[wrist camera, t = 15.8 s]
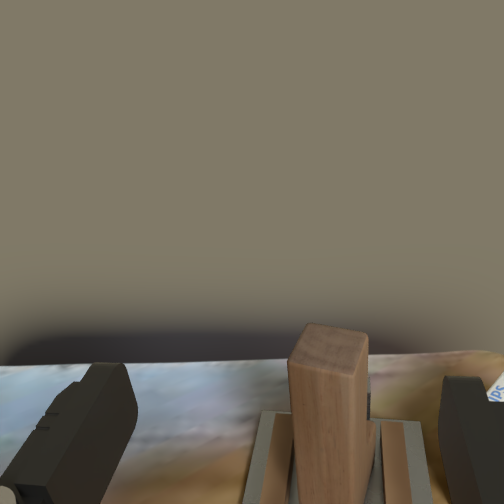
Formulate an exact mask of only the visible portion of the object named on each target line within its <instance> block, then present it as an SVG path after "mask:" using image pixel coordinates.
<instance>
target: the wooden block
mask: <svg viewBox="0 0 504 504" xmlns="http://www.w3.org/2000/svg"><path fill="white" fill-rule="evenodd" d="M287 368H288V380H289V392H290V404H291V415H292V427H293V439H294V451H295V464H296V476H297V489H298V500H299V504H364V499H365V495H366V491H367V487H368V483H369V479H370V475H371V470H372V466H373V462H374V458H375V447H376V424H375V423H374V422H373V421H369V420H367V380H368V336H367V334H366V333H364V332H360V331H354V330H348V329H343V328H337V327H332V326H326V325H321V324H315V323H308V324H306V326H305V328H304V330H303V331H302V334H301V335H300V337H299V339H298V341H297V343H296V345H295V347H294V349H293V351H292V352H291V354H290V356H289V358H288V360H287Z"/></svg>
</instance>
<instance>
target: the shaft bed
mask: <svg viewBox="0 0 504 504" xmlns="http://www.w3.org/2000/svg"><path fill="white" fill-rule="evenodd" d="M370 394H371V392H370V377H368V380H367V420H369V421H373V422H374V423H375V424H376V447H375V458H374V462H373V466H372V470H371V475H370V479H369V483H368V487H367V491H366V495H365V499H364V504H384V497H383V481H382V464H381V448H380V426H381V421H391V422H403V427H404V436H405V444H406V453H407V462H408V470H409V479H410V487H411V496H412V504H433V499H432V493H431V487H430V480H429V474H428V467H427V461H426V455H425V448H424V442H423V435H422V429H421V423H420V421H406V420H392V419H378V418H370ZM275 413H281V414H291V412H281V411H267V410H262V413H261V417H260V422H259V427H258V432H257V436H256V441H255V446H254V451H253V455H252V460H251V465H250V470H249V474H248V479H247V484H246V488H245V493H244V498H243V503H242V504H259V503H260V498H261V492H262V487H263V481H264V475H265V470H266V464H267V458H268V453H269V447H270V442H271V436H272V430H273V425H274V419H275ZM289 504H299V500H298V489H297V476H296V464H295V455H294V463H293V471H292V479H291V487H290V496H289Z"/></svg>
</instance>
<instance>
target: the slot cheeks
mask: <svg viewBox="0 0 504 504" xmlns="http://www.w3.org/2000/svg"><path fill="white" fill-rule="evenodd" d="M380 448H381V464H382V481H383V497H384V504H412V496H411V487H410V479H409V470H408V462H407V453H406V444H405V436H404V427H403V422H391V421H381V426H380ZM294 455H295V451H294V439H293V427H292V415H291V414H281V413H275V419H274V425H273V430H272V436H271V442H270V447H269V453H268V458H267V464H266V470H265V475H264V481H263V487H262V492H261V498H260V503H259V504H289V496H290V487H291V479H292V471H293V463H294Z"/></svg>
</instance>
